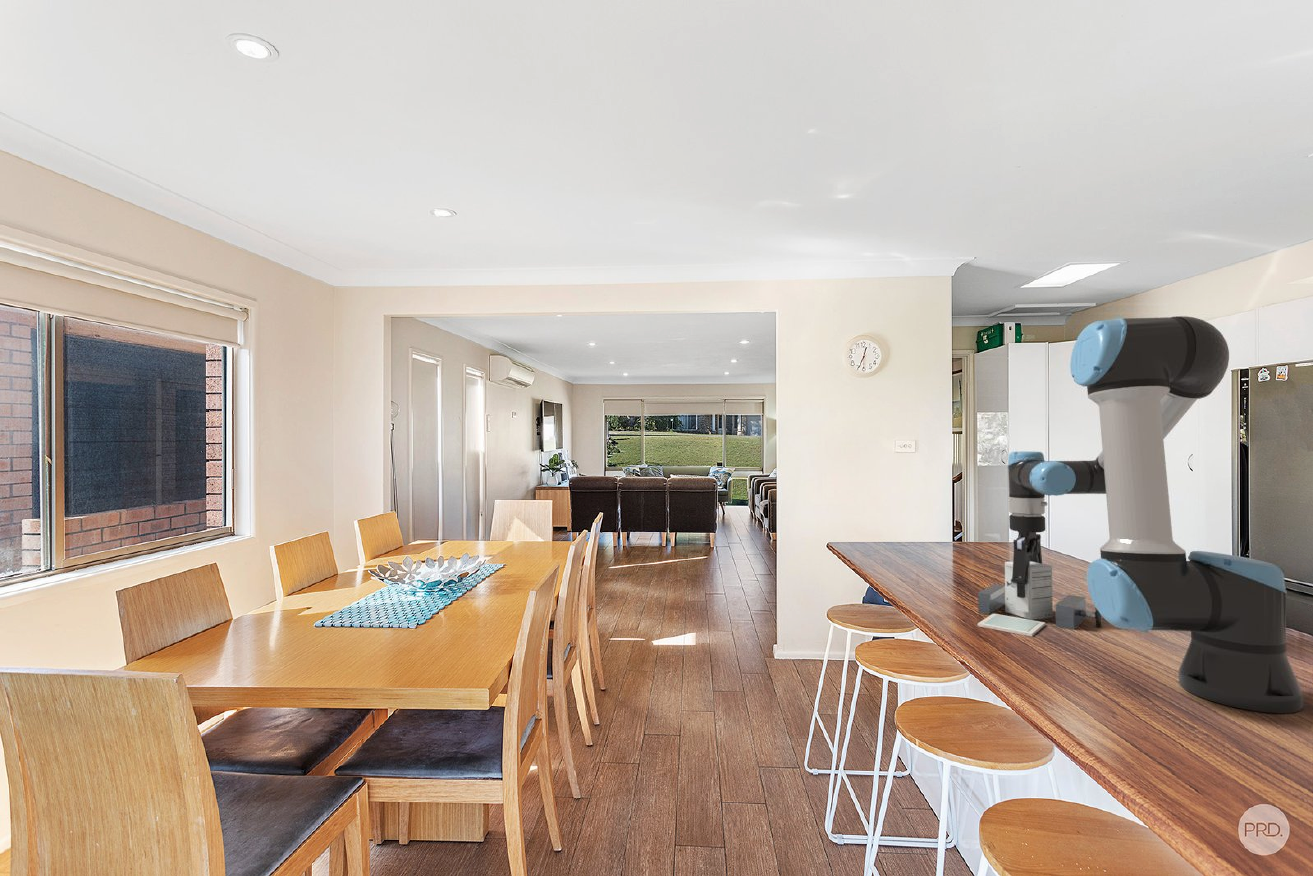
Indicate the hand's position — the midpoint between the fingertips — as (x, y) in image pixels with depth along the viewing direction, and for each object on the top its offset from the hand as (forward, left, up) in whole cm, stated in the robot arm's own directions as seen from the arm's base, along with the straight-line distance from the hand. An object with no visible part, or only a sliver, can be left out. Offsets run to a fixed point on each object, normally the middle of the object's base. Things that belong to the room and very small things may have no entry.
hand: (1028, 606), depth 150 cm
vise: (0, -3, -2) cm, 3 cm away
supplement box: (0, 0, -2) cm, 2 cm away
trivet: (-12, 0, -2) cm, 12 cm away
